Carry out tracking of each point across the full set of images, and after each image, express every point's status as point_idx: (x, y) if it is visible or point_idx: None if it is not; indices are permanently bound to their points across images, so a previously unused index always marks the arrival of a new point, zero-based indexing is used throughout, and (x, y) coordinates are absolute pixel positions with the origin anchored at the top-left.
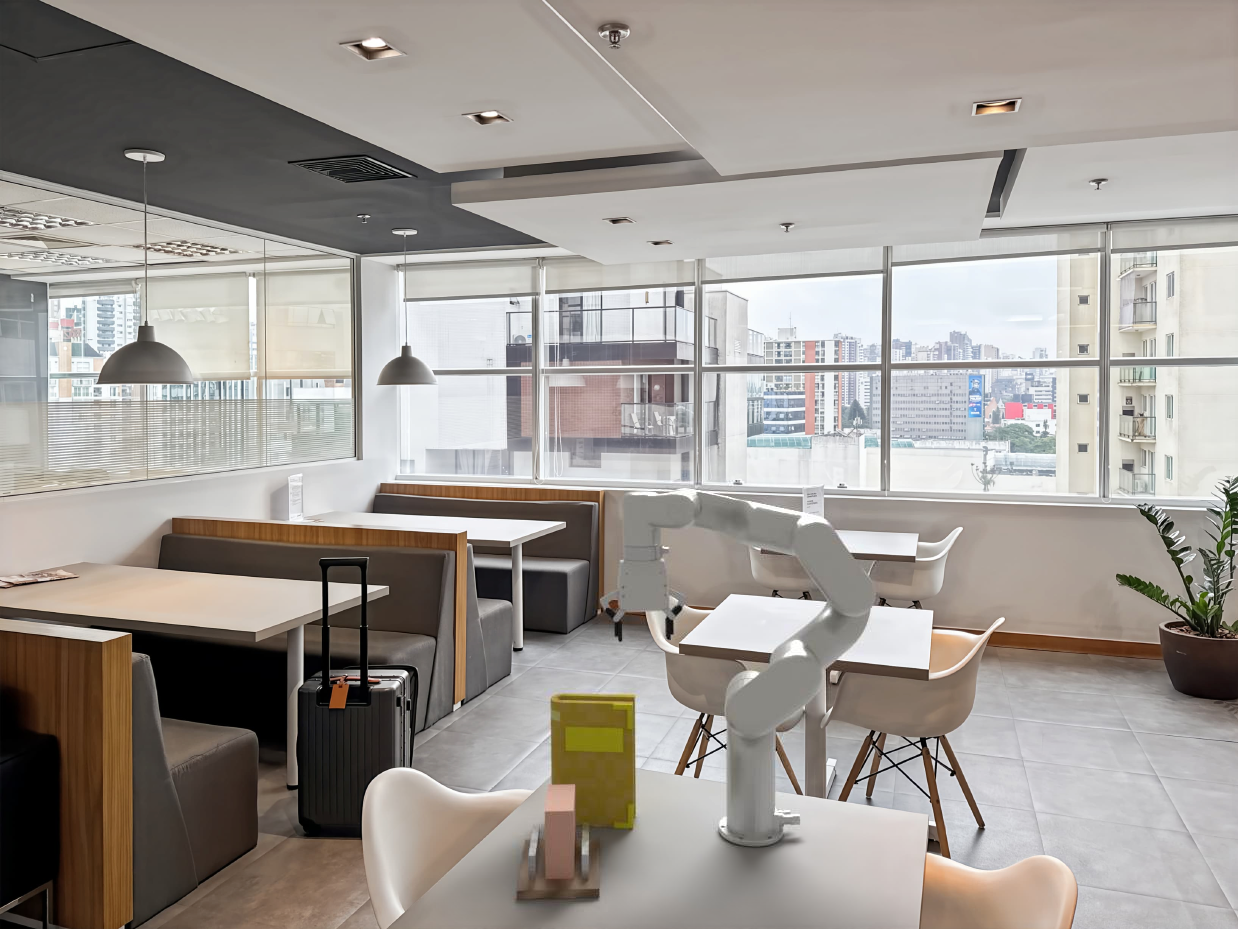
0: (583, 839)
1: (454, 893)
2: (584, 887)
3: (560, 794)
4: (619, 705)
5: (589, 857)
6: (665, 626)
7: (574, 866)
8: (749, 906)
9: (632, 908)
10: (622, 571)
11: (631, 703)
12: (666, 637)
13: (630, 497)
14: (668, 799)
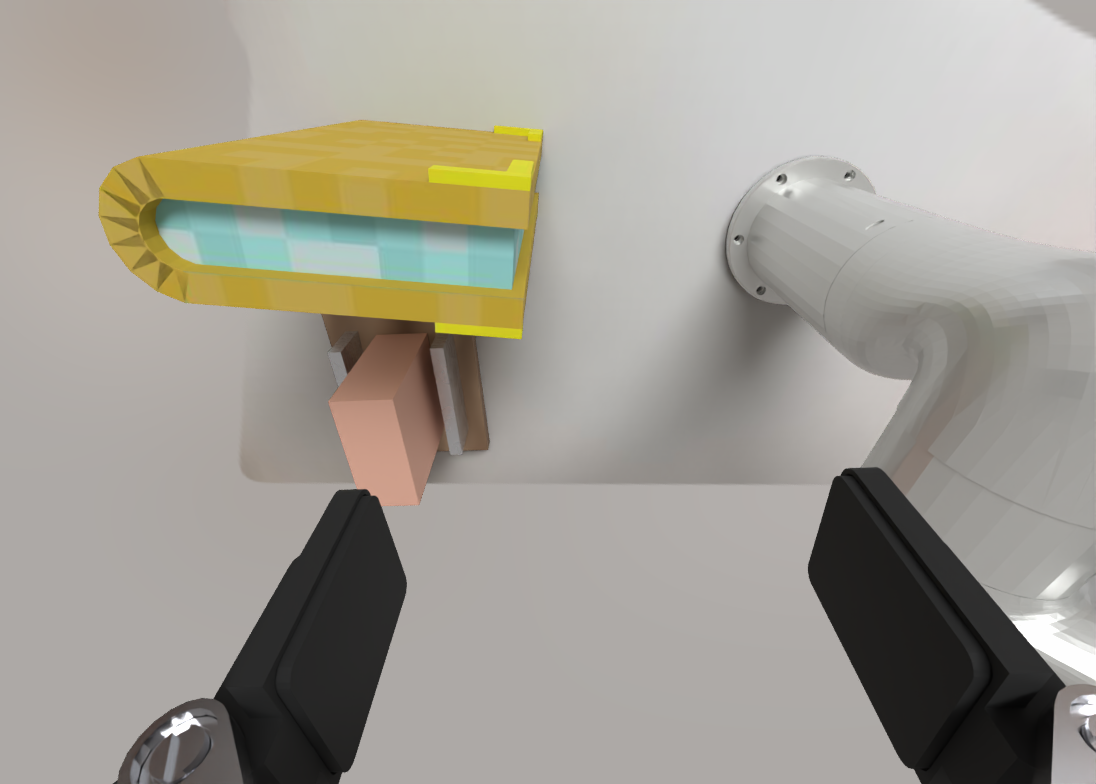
0: (444, 410)
1: (269, 431)
2: (465, 447)
3: (372, 444)
4: (464, 333)
5: (459, 366)
6: (894, 564)
7: (440, 418)
8: (705, 460)
9: (539, 463)
10: None
11: (516, 321)
12: (820, 537)
13: None
14: (637, 28)
